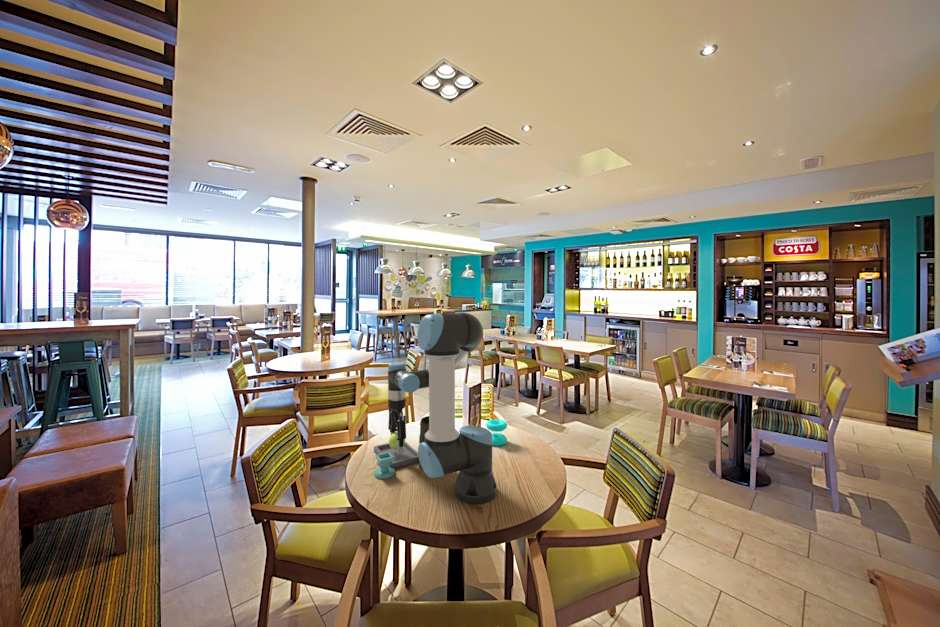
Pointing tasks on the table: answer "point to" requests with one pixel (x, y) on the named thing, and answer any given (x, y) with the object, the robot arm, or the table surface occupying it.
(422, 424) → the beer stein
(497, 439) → the donuts
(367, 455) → the table surface
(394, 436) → the ball
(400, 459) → the tray
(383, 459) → the goblet
